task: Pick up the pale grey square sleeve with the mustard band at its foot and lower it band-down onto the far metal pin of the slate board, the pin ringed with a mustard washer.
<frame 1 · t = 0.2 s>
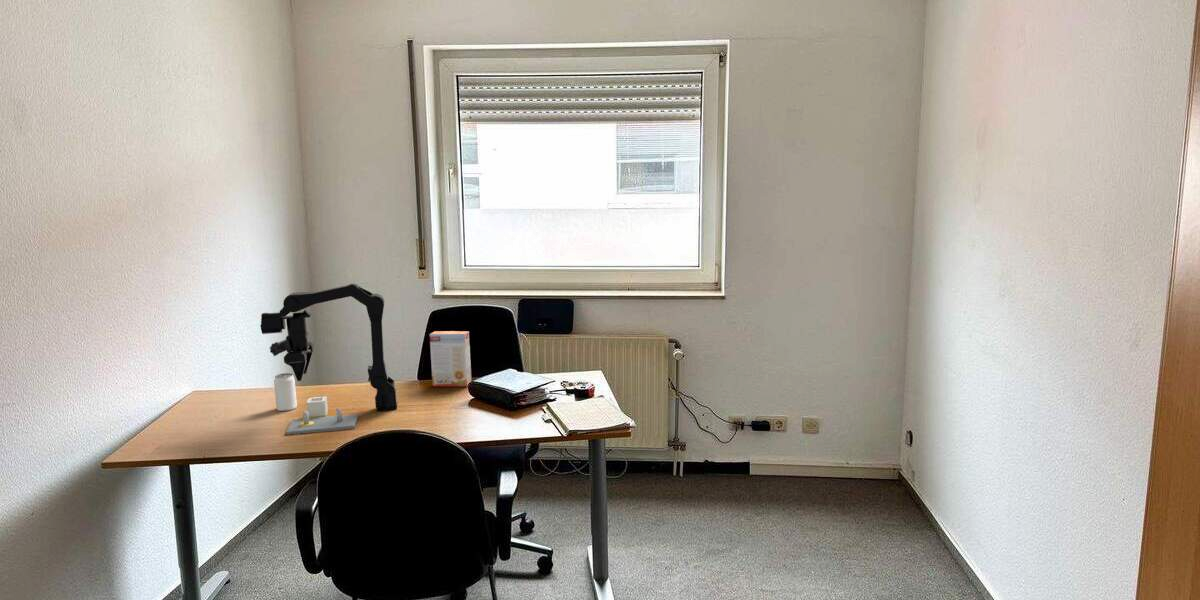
hand: (301, 377, 223), 13 cm above the table, fingers open, 9 cm apart
sleeve: (318, 416, 224), on the table
can: (286, 409, 233), on the table
board: (323, 425, 215), on the table
cracker box: (452, 385, 260), on the table
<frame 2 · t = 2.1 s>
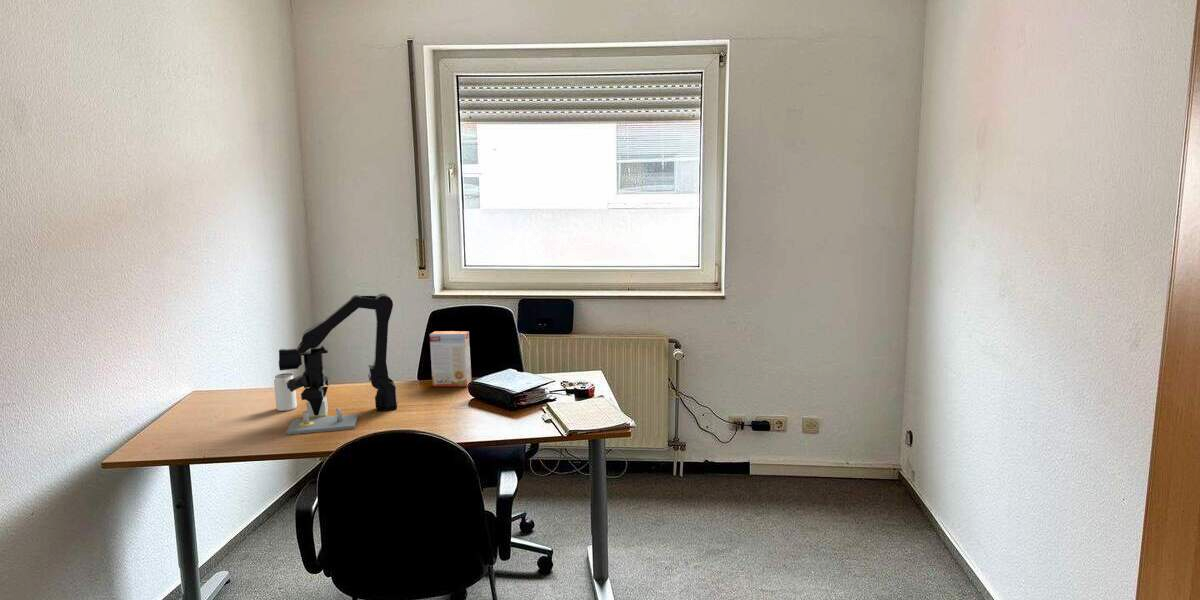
hand: (317, 412, 224), 2 cm above the table, fingers closed on sleeve, 6 cm apart
sleeve: (318, 416, 224), on the table, touching gripper
everything else where it was.
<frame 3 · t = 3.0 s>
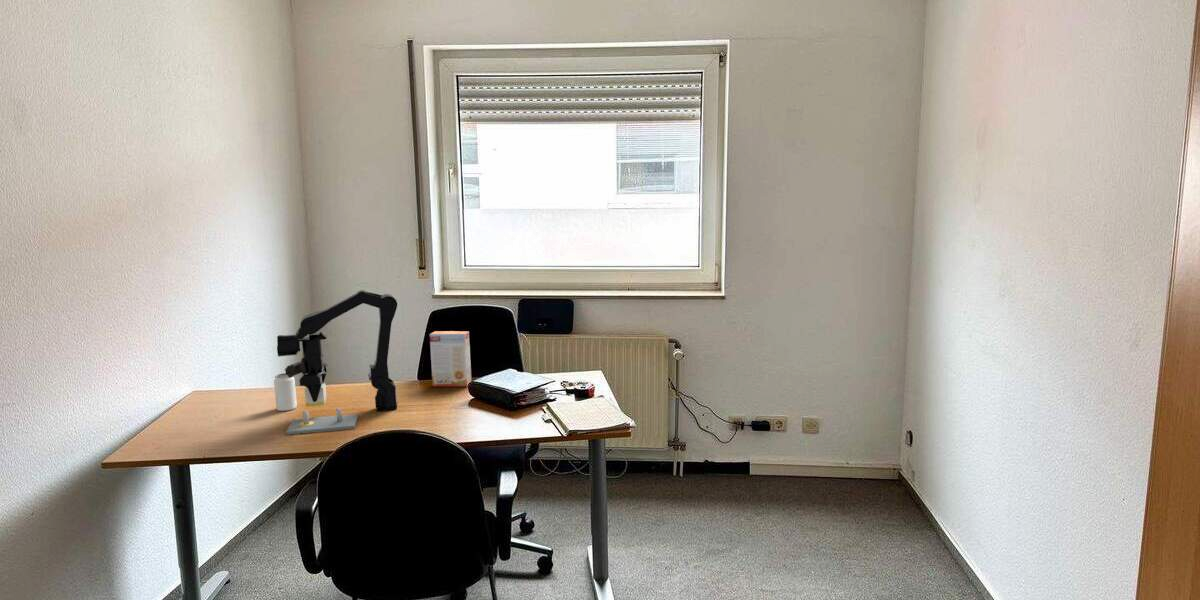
hand: (316, 399, 223), 6 cm above the table, fingers closed on sleeve, 6 cm apart
sleeve: (316, 403, 223), point 5 cm above the table, touching gripper
everything else where it was.
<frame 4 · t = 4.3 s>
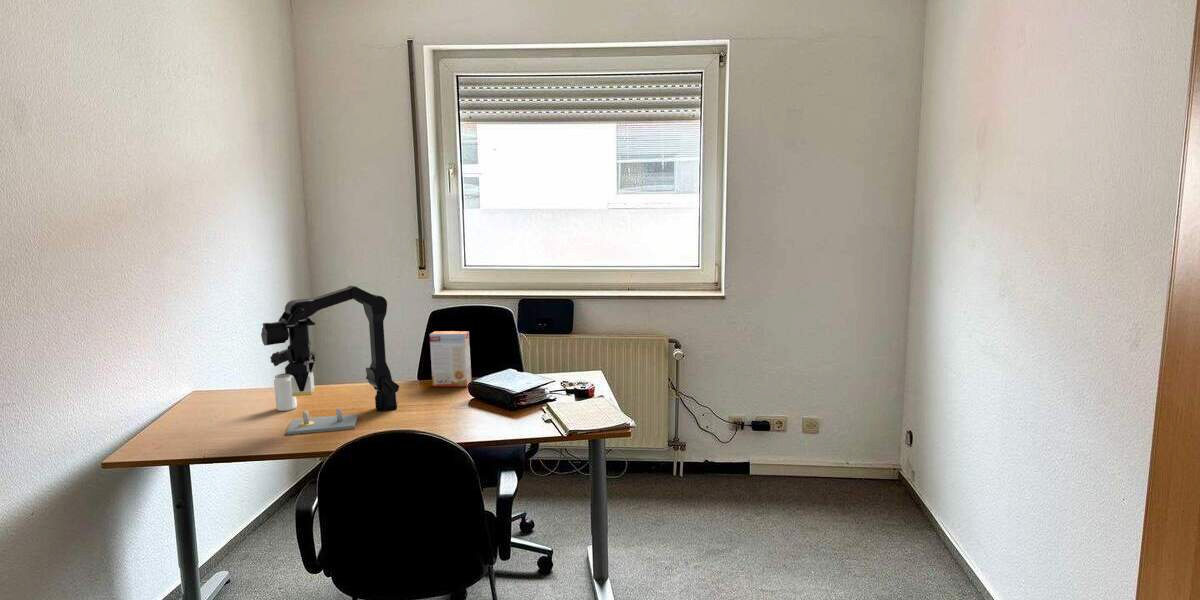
hand: (303, 388, 212), 13 cm above the table, fingers closed on sleeve, 6 cm apart
sleeve: (303, 393, 212), point 11 cm above the table, touching gripper
everything else where it was.
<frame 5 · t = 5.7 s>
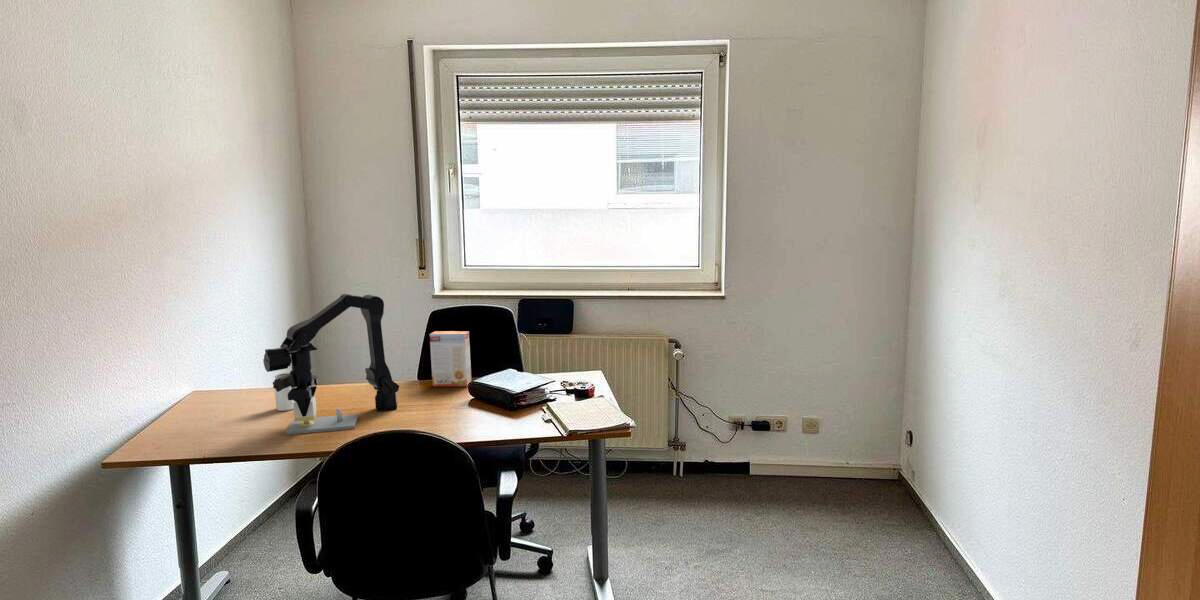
hand: (305, 413, 213), 5 cm above the table, fingers closed on sleeve, 6 cm apart
sleeve: (306, 417, 213), point 3 cm above the table, touching gripper
everything else where it was.
when the fingers open (3 cm above the table, at t = 6.8 s): sleeve stays where it is, resting on board.
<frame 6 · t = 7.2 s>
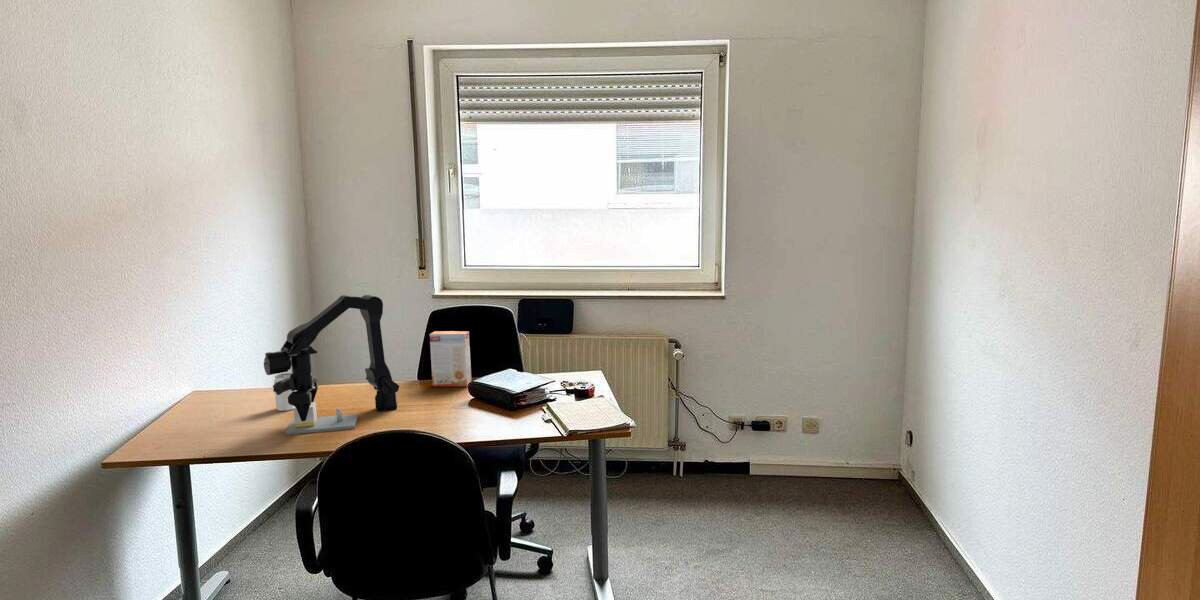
hand: (306, 416, 213), 3 cm above the table, fingers open, 9 cm apart
sleeve: (306, 423, 213), point 1 cm above the table, touching board
everything else where it was.
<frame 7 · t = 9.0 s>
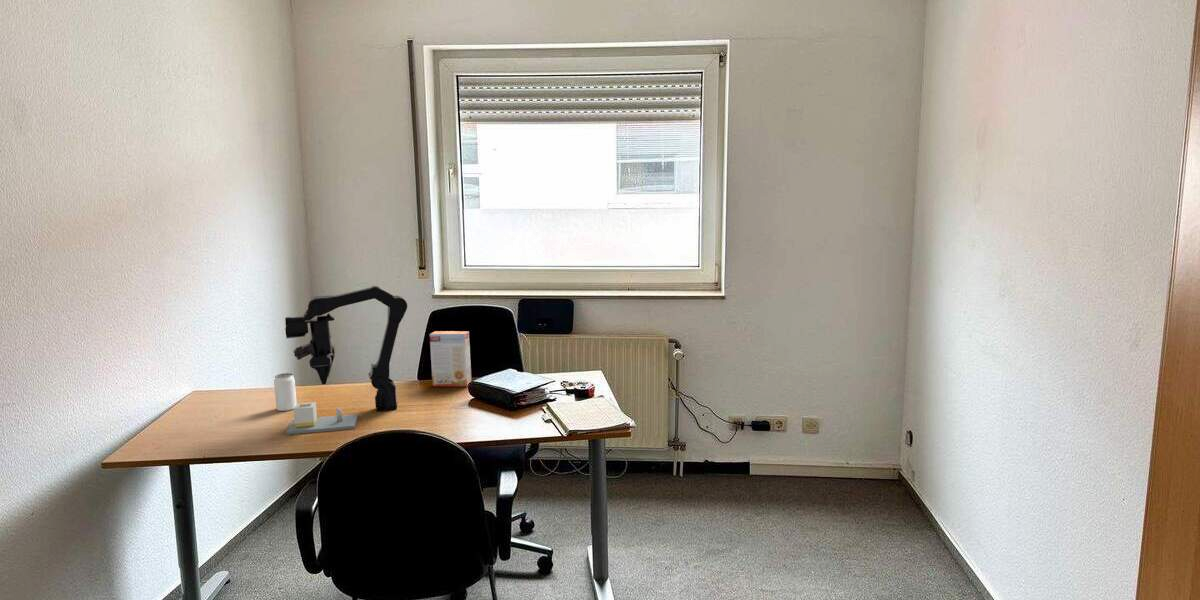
hand: (325, 380, 223), 12 cm above the table, fingers open, 9 cm apart
nothing on the table moved.
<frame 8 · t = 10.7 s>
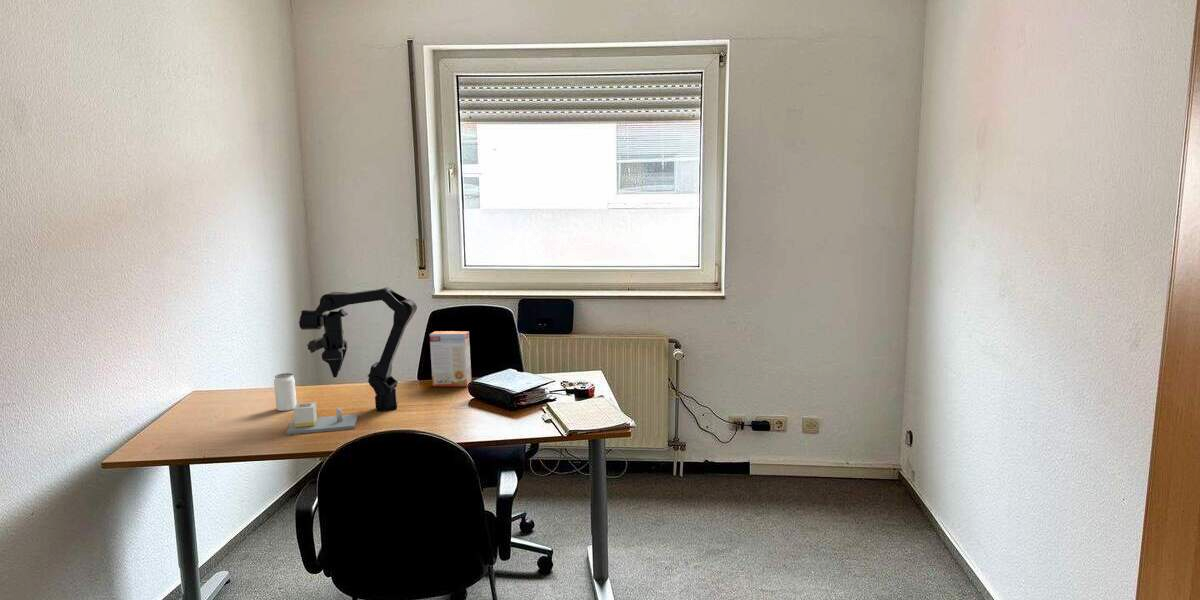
hand: (336, 373, 230), 13 cm above the table, fingers open, 9 cm apart
nothing on the table moved.
at the end: sleeve 0.0 cm from the target spot on the board, point 1.2 cm above the board's base; sleeve tilted 0°; the gripper is holding nothing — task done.
